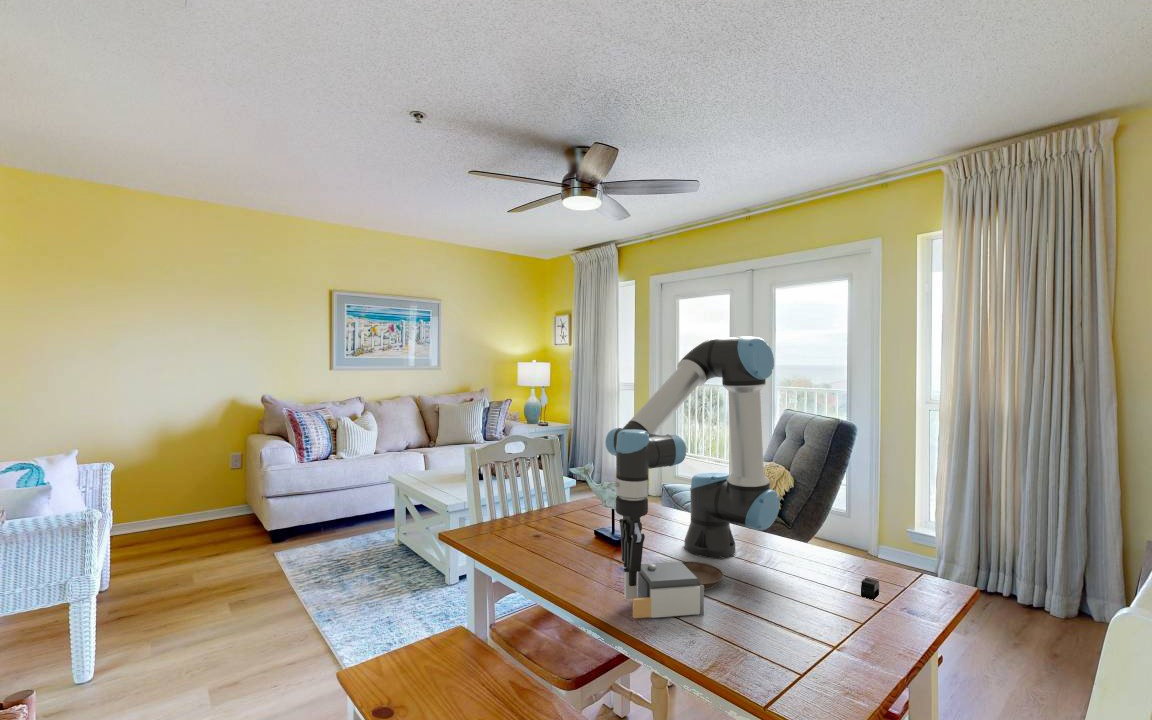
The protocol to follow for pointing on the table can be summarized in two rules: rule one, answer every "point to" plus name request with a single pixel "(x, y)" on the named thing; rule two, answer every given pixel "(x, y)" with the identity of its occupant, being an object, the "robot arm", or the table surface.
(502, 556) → the table surface
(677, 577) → the grey box with knob
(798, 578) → the table surface
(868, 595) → the black block
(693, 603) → the light grey flat piece
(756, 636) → the table surface
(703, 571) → the saucer
